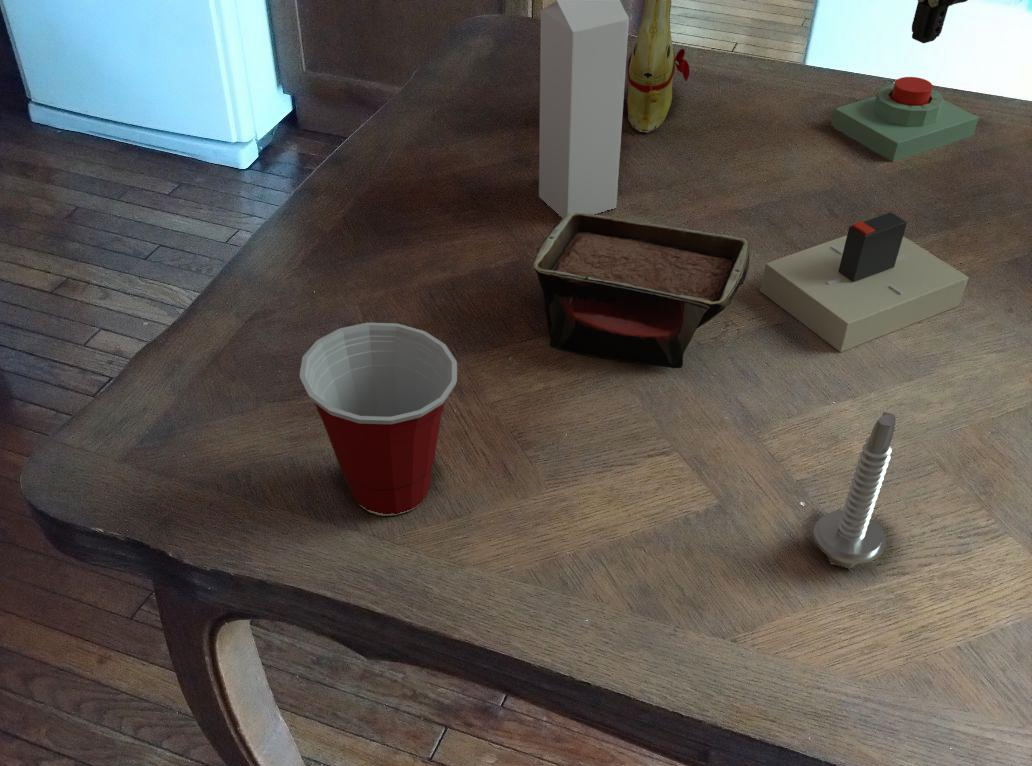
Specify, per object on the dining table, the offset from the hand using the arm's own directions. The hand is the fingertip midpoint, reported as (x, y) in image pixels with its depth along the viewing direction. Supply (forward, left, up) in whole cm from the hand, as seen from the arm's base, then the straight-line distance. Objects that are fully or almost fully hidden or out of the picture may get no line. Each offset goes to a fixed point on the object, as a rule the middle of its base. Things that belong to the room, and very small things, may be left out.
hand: (923, 39), depth 113 cm
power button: (0, 0, -7) cm, 7 cm away
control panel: (+27, +23, -10) cm, 37 cm away
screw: (+50, +47, -10) cm, 69 cm away
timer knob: (+27, +23, -7) cm, 36 cm away
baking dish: (+47, +16, -10) cm, 50 cm away
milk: (+40, -5, -10) cm, 41 cm away
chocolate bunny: (+22, -17, -10) cm, 29 cm away
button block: (0, 0, -10) cm, 10 cm away
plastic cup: (+75, +25, -10) cm, 79 cm away
